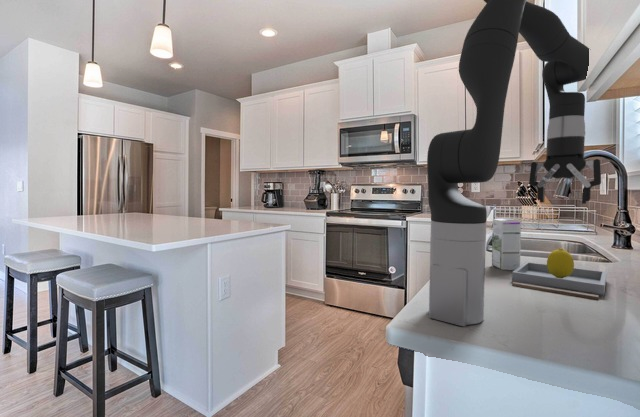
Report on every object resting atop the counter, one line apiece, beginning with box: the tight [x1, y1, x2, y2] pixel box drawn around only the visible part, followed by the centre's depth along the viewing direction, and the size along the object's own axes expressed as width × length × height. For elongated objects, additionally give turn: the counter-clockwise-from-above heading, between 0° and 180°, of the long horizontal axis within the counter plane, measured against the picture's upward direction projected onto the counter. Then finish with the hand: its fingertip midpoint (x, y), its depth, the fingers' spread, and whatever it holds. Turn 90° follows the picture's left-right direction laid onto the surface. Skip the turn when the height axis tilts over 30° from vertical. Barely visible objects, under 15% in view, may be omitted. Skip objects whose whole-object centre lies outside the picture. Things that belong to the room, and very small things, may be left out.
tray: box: [511, 261, 608, 297], centre depth 85 cm, size 16×18×2 cm
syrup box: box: [491, 217, 522, 271], centre depth 100 cm, size 6×6×14 cm
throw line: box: [511, 282, 600, 301], centre depth 77 cm, size 2×16×1 cm, turn 49°
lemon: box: [546, 247, 575, 279], centre depth 85 cm, size 6×6×8 cm
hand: (562, 203), depth 84 cm, fingers open, 8 cm apart
